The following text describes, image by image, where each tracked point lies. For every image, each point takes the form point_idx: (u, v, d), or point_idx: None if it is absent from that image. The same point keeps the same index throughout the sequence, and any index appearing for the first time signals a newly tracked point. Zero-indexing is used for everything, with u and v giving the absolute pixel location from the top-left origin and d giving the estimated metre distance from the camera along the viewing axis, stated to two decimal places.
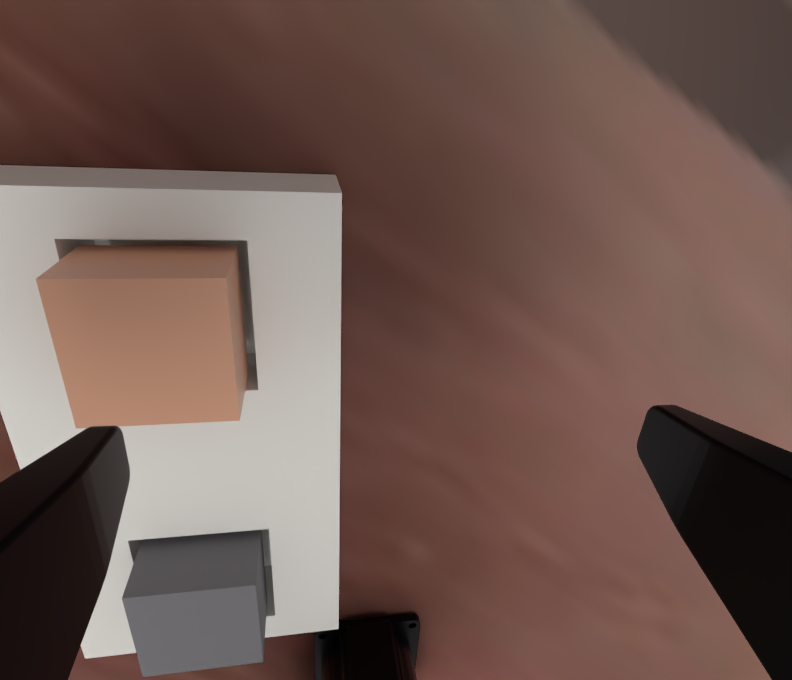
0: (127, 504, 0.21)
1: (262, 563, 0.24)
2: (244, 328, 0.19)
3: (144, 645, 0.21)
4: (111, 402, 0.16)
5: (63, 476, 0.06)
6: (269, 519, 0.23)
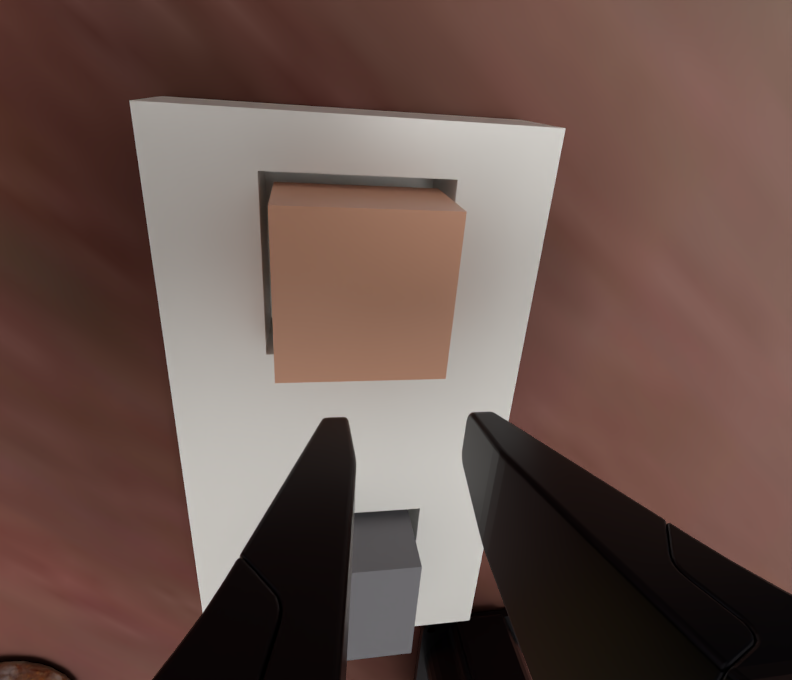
0: (280, 477, 0.19)
1: None
2: None
3: None
4: (317, 353, 0.15)
5: (344, 462, 0.07)
6: (422, 497, 0.21)
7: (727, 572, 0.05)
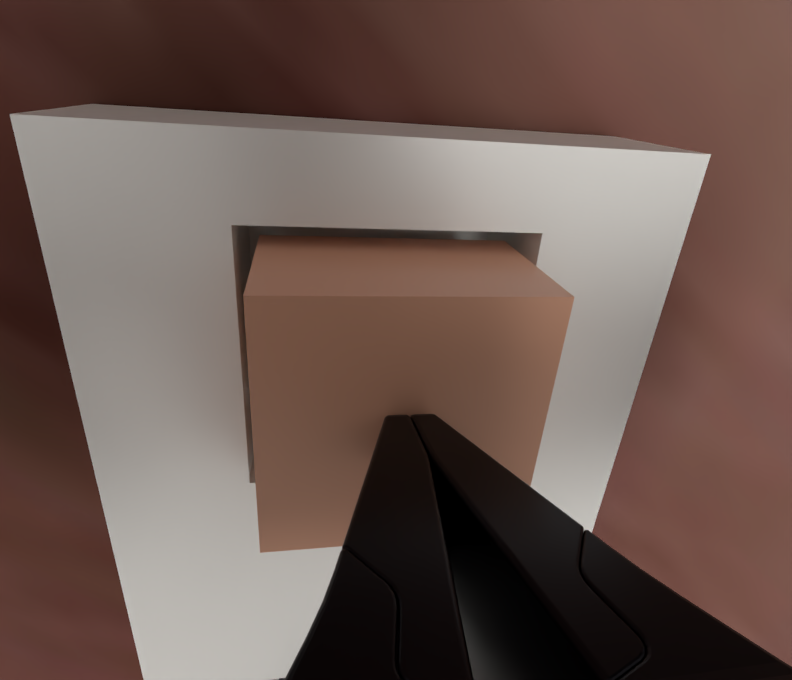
0: (272, 633, 0.14)
1: None
2: None
3: None
4: (327, 510, 0.09)
5: (418, 458, 0.07)
6: None
7: (634, 581, 0.05)
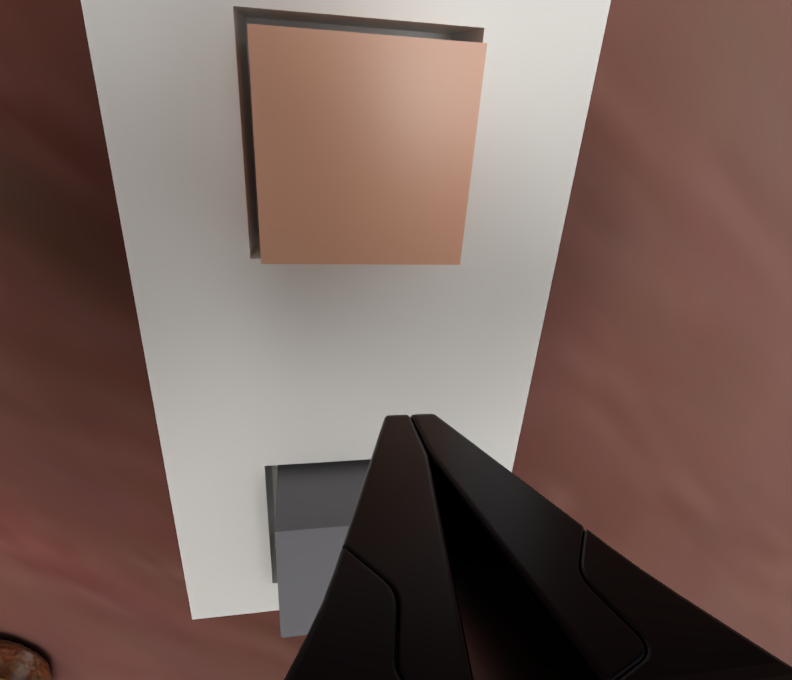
0: (271, 416, 0.17)
1: None
2: None
3: (290, 596, 0.17)
4: (310, 227, 0.12)
5: (418, 458, 0.07)
6: None
7: (634, 581, 0.05)
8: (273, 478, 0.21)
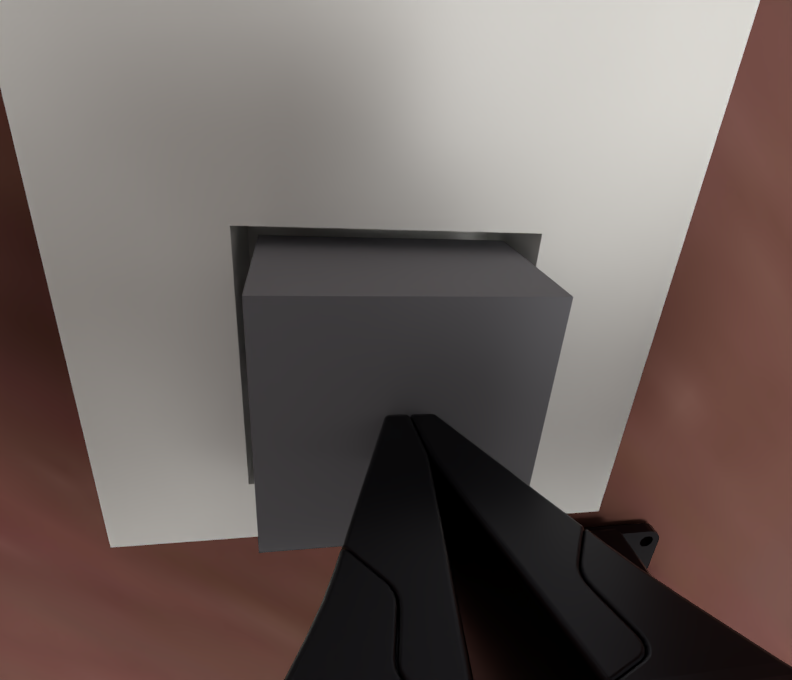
0: (241, 100, 0.08)
1: None
2: None
3: (276, 461, 0.09)
4: None
5: (419, 458, 0.07)
6: (550, 204, 0.10)
7: (634, 581, 0.05)
8: None
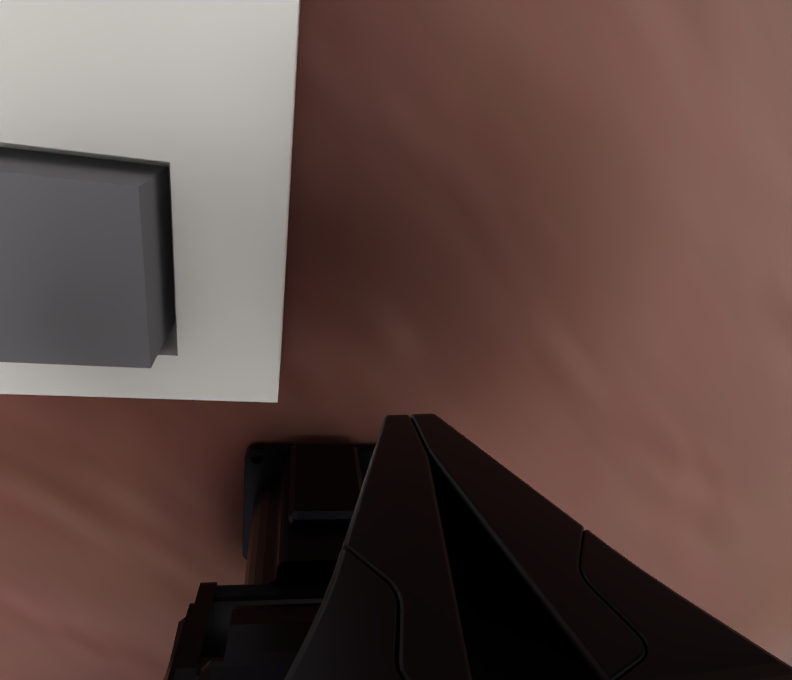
0: None
1: (166, 231, 0.15)
2: None
3: None
4: None
5: (419, 458, 0.07)
6: (171, 140, 0.14)
7: (634, 581, 0.05)
8: None
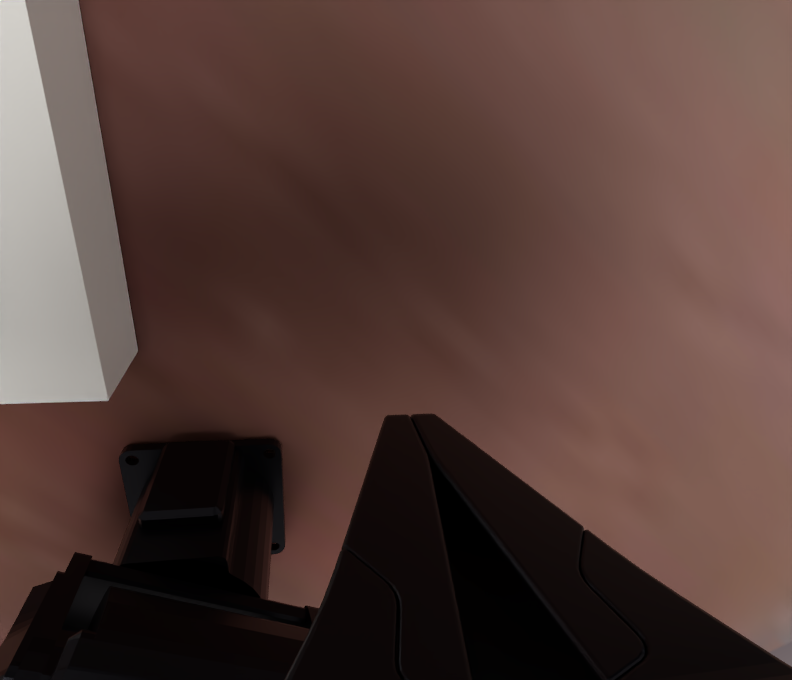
0: None
1: None
2: None
3: None
4: None
5: (419, 458, 0.07)
6: None
7: (634, 582, 0.05)
8: None
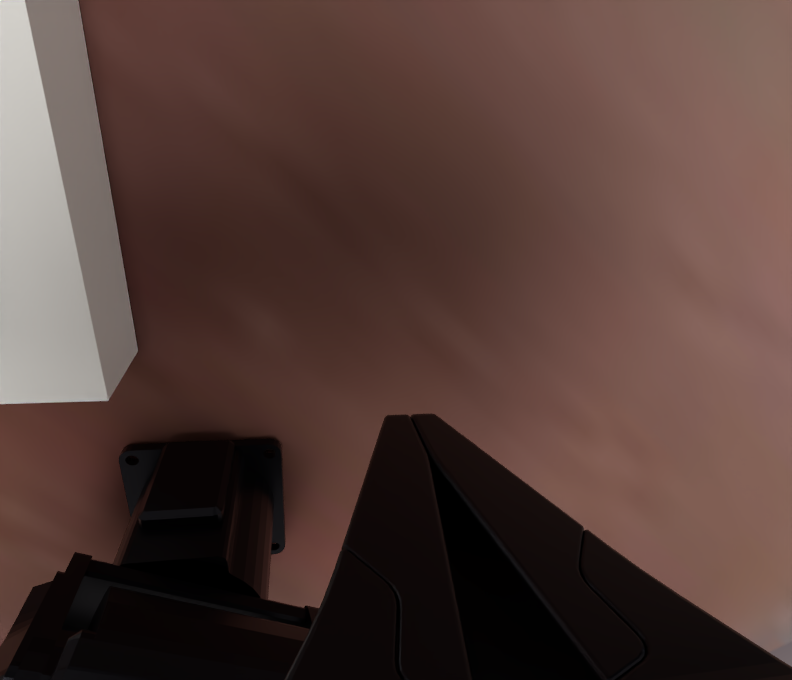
0: None
1: None
2: None
3: None
4: None
5: (419, 458, 0.07)
6: None
7: (634, 581, 0.05)
8: None
